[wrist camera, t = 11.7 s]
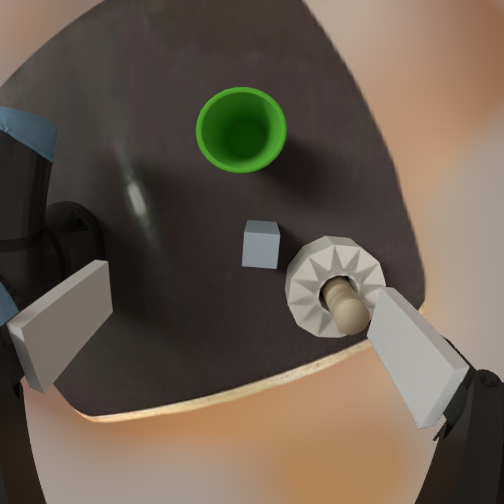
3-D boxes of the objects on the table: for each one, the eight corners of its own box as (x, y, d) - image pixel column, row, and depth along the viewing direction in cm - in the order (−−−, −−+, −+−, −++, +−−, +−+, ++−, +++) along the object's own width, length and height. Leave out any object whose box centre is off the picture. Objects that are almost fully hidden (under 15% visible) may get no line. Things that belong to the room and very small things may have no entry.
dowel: (316, 293, 43) (333, 334, 31) (320, 267, 42) (340, 303, 30) (341, 294, 43) (365, 335, 31) (345, 269, 42) (373, 304, 30)
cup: (287, 163, 38) (297, 160, 27) (222, 180, 39) (208, 184, 28) (270, 101, 35) (273, 77, 25) (205, 119, 36) (185, 101, 26)
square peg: (245, 247, 41) (241, 265, 34) (247, 219, 40) (244, 231, 32) (273, 250, 41) (276, 268, 34) (276, 222, 40) (280, 234, 32)
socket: (281, 318, 44) (283, 335, 39) (291, 232, 40) (295, 241, 36) (362, 321, 44) (371, 337, 39) (379, 241, 40) (393, 250, 35)
